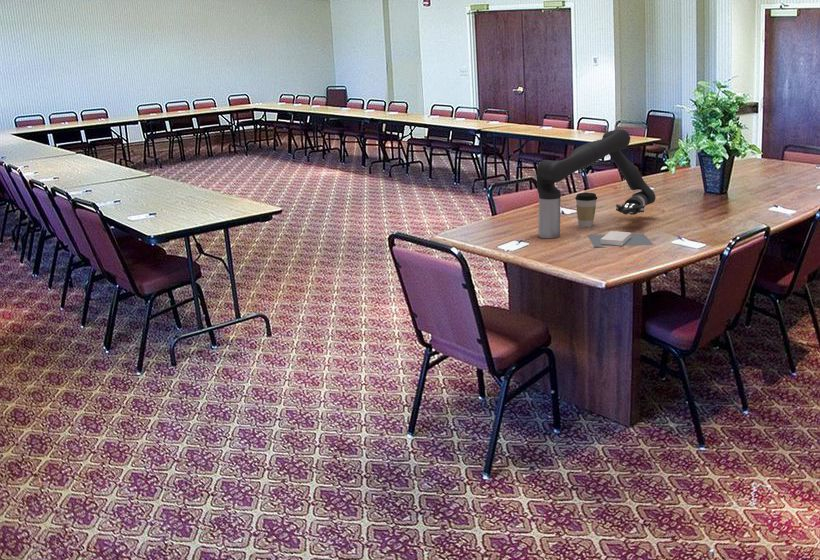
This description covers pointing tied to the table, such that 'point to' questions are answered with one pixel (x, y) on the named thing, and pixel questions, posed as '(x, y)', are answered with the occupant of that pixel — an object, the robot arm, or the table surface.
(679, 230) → the table surface
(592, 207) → the coffee cup
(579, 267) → the table surface
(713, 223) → the table surface
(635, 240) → the mat
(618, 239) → the tile
